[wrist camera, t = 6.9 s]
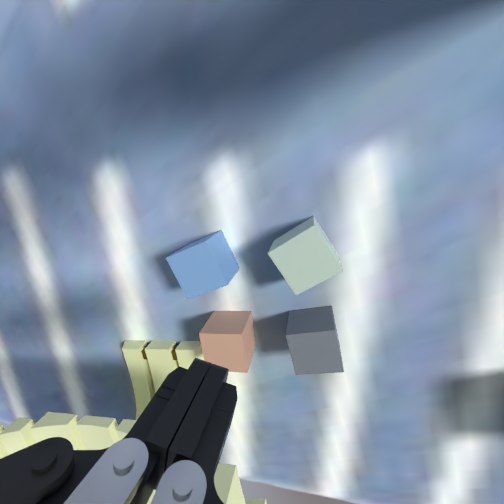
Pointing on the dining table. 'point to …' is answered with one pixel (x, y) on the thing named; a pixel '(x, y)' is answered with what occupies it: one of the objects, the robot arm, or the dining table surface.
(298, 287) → the sage block
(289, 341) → the charcoal block
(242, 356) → the terracotta block
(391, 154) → the dining table surface
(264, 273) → the dining table surface
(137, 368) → the slatted curved stool
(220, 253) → the blue block
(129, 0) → the dining table surface
